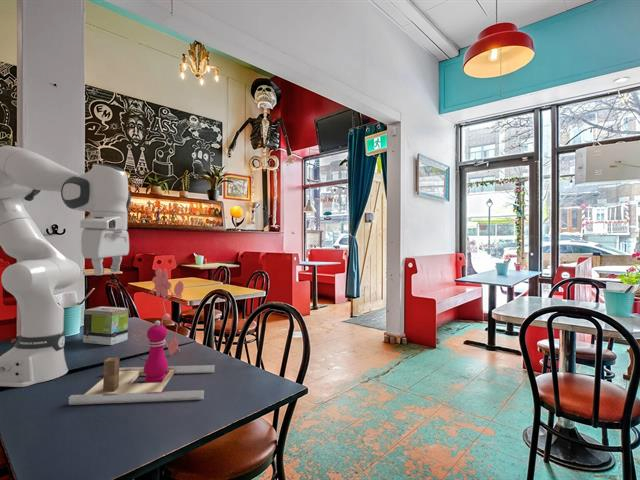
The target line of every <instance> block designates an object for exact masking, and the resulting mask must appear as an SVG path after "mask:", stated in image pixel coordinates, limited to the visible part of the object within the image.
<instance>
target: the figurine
mask: <svg viewBox="0 0 640 480" xmlns="http://www.w3.org/2000/svg"><path fill="white" fill-rule="evenodd" d="M154 272H155V276H153V278H152V280H151V281H152V283H153V284H154V287H152V289H150V290H149V292H148V294H150V293H152V292H153V291H155V294H156V297H157V298H159V297H160V296H161V297H162V299H163V300H162V307H163V312H164V314H163V315H162V319H161V325H162V326H164V325H163V321H170V322H172V323H173V324H175V325H176V329H175V335H174V338H173V339H172V340H171V341H170V342H169V344H168V343H167V341H166V340H165V344H164V345H165V346H166V348H167V349H168V353H169V355H170V357H171V356H173V355H174V353H176V351H178V353H181V350H180V348H179V342H178V340H177V339H176V337H177V332H178V327H179V324H178V323H177V322H176V321H173V320H172V319H170V317H171V315H170V314H169V313H166V307H165V302H166V301H167V300H169V299H170V298H171V297H176V298H179V299H182V293H183V291H184V288H185V286H184V283H183V281H181V280H179V281H178V282H177V283H176V284H175V285H174V288H173V291H172V290H171V288H172V286H173V284H172V283H171V282H170V281H169V275H168V270H167V268H164V269H163V270H162V269H161V268H159V267H158V268H157V270H155V271H154ZM169 292H170V294H169ZM137 356H138V358H139V360H143V361H145V362H146V361H147V359H143V358H141V357H140V356H139V355H137Z"/></svg>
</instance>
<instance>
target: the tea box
mask: <svg viewBox="0 0 640 480" xmlns="http://www.w3.org/2000/svg"><path fill="white" fill-rule="evenodd" d="M82 333H83V336H82V337H83V338H82V343H86V344H94V345H95V344H96V345H97V344H98V345H105V346H106V345H107V346H113V345H116V344H119V343H122V342H125V341H127V340H128V338H129V337H128V335H129V307H120V306H119V307H117V306H96V307H92V308H87V309H84V310H83V332H82Z"/></svg>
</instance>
